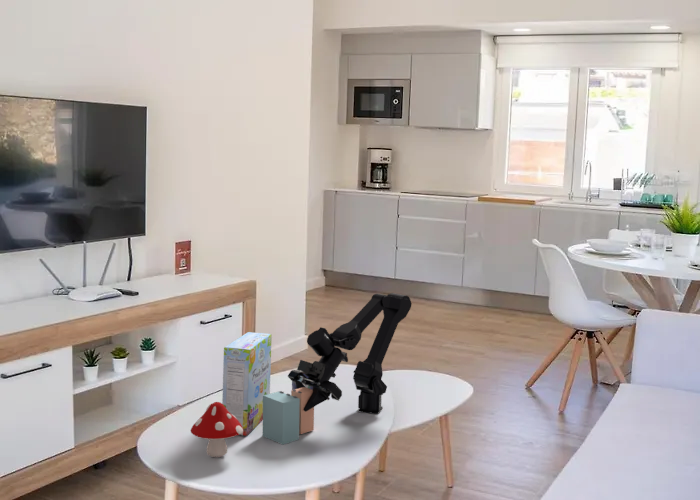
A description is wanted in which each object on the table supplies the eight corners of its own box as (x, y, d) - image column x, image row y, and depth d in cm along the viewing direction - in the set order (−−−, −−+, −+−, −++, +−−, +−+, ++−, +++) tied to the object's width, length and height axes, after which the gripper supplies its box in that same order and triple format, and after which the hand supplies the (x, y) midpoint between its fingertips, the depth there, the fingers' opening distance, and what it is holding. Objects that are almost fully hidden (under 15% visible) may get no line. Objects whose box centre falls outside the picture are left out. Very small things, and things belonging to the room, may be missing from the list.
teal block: (278, 431, 238) (279, 390, 237) (299, 439, 232) (299, 397, 231) (262, 435, 234) (262, 394, 233) (282, 444, 228) (283, 401, 226)
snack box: (249, 437, 233) (250, 349, 230) (220, 434, 235) (220, 347, 231) (271, 413, 254) (272, 332, 251) (245, 411, 256) (245, 330, 252)
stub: (303, 426, 242) (304, 386, 241) (313, 430, 239) (314, 389, 237) (290, 430, 239) (291, 389, 237) (300, 434, 236) (301, 392, 234)
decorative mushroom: (185, 449, 223) (185, 396, 221) (234, 443, 228) (234, 391, 226) (197, 469, 210) (197, 412, 208) (249, 461, 215) (249, 406, 213)
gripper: (292, 343, 245) (263, 386, 239) (335, 355, 232) (305, 401, 226) (311, 364, 252) (283, 406, 245) (354, 377, 239) (326, 422, 232)
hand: (299, 408), depth 237 cm, fingers closed on stub, 4 cm apart
